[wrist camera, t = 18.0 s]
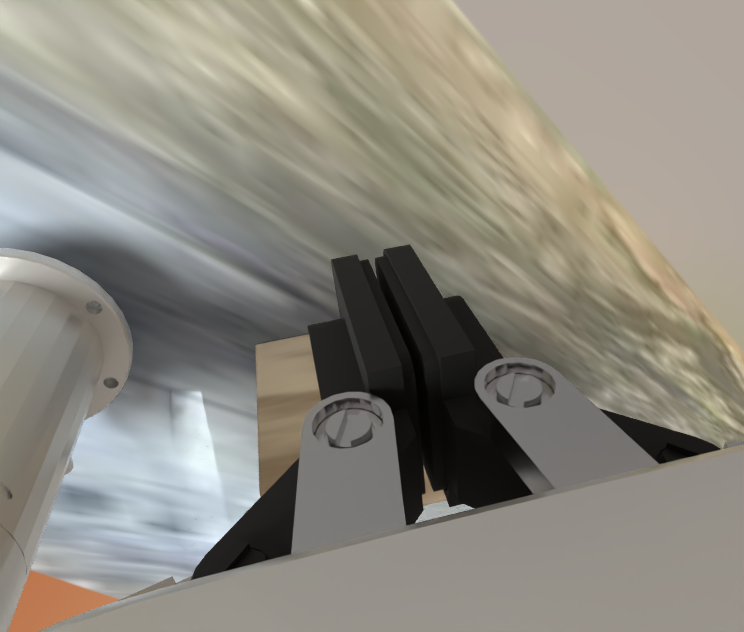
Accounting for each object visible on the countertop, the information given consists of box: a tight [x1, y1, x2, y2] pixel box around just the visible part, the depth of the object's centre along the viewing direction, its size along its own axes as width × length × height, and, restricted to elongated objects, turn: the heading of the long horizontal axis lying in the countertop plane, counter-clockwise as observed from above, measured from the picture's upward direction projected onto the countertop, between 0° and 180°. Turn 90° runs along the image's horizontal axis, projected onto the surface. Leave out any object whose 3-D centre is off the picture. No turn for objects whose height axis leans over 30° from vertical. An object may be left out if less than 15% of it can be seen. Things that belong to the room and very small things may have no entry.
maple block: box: [256, 334, 447, 505], centre depth 37 cm, size 4×12×14 cm, turn 97°
